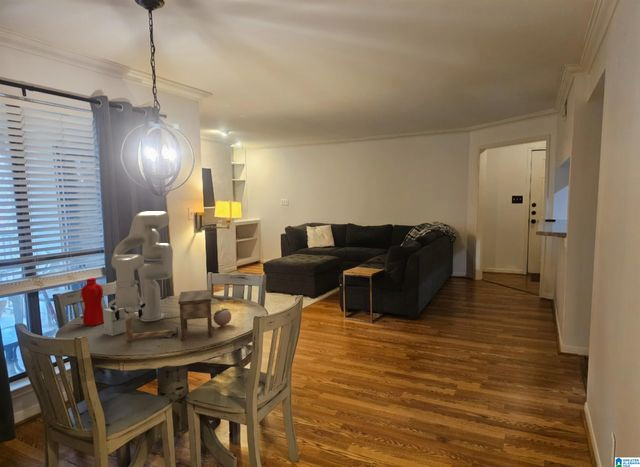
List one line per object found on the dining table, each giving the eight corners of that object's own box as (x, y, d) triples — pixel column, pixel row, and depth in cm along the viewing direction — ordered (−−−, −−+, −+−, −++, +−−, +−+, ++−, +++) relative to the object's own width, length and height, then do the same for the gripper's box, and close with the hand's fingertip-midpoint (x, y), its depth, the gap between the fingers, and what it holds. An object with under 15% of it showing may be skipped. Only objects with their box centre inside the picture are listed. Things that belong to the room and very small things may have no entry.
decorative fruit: (222, 330, 200) (221, 311, 199) (211, 327, 204) (210, 309, 203) (235, 325, 208) (234, 306, 207) (224, 322, 212) (223, 304, 211)
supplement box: (112, 336, 194) (110, 311, 193) (104, 333, 198) (102, 309, 197) (126, 331, 201) (124, 307, 199) (118, 329, 205) (116, 305, 203)
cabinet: (180, 341, 187) (178, 301, 185) (182, 328, 205) (180, 291, 203) (213, 337, 191) (211, 298, 189) (212, 325, 209) (211, 289, 207)
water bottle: (93, 319, 221) (89, 275, 218) (108, 321, 217) (104, 277, 214) (78, 325, 212) (74, 279, 209) (93, 327, 208) (89, 280, 206)
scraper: (125, 343, 185) (123, 320, 184) (129, 337, 193) (127, 315, 192) (177, 338, 191) (175, 315, 190) (178, 331, 199) (177, 310, 198)
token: (164, 338, 192) (164, 336, 192) (166, 335, 196) (166, 333, 196) (174, 337, 193) (174, 335, 193) (175, 334, 197) (175, 332, 197)
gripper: (147, 280, 193) (149, 313, 195) (107, 283, 188) (111, 317, 191) (144, 284, 185) (147, 319, 188) (104, 287, 181) (107, 323, 183)
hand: (129, 318), depth 189 cm, fingers open, 9 cm apart
